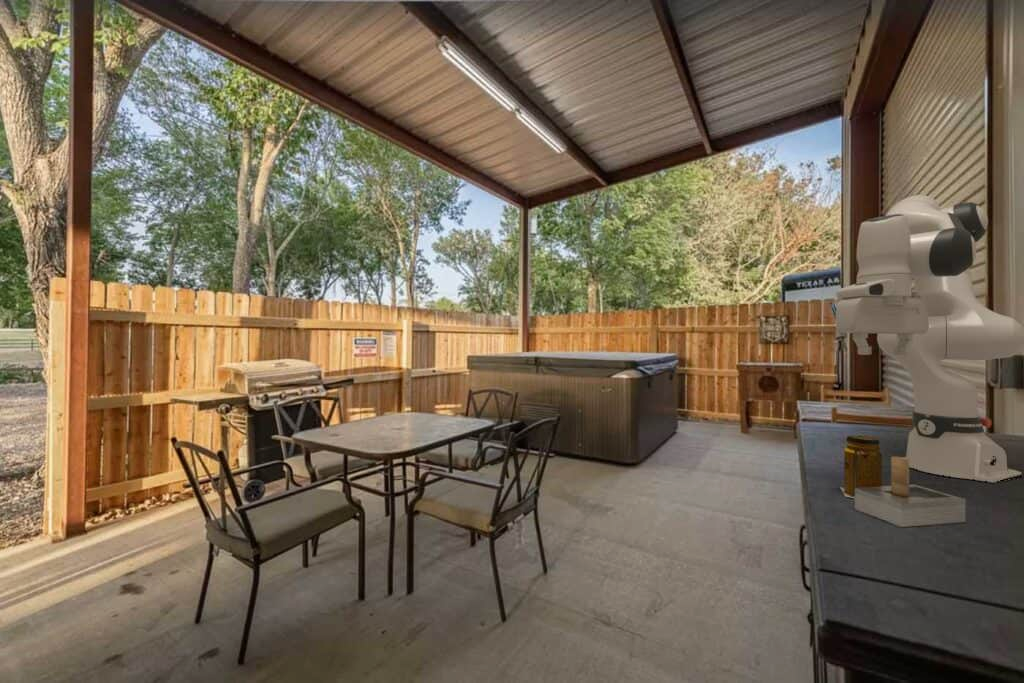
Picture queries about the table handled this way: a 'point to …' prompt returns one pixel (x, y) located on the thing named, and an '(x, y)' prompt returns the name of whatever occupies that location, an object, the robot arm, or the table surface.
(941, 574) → the table surface
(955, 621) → the table surface
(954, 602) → the table surface
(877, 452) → the condiment
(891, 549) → the table surface
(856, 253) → the robot arm
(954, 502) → the keyhole plate
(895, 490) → the peg
